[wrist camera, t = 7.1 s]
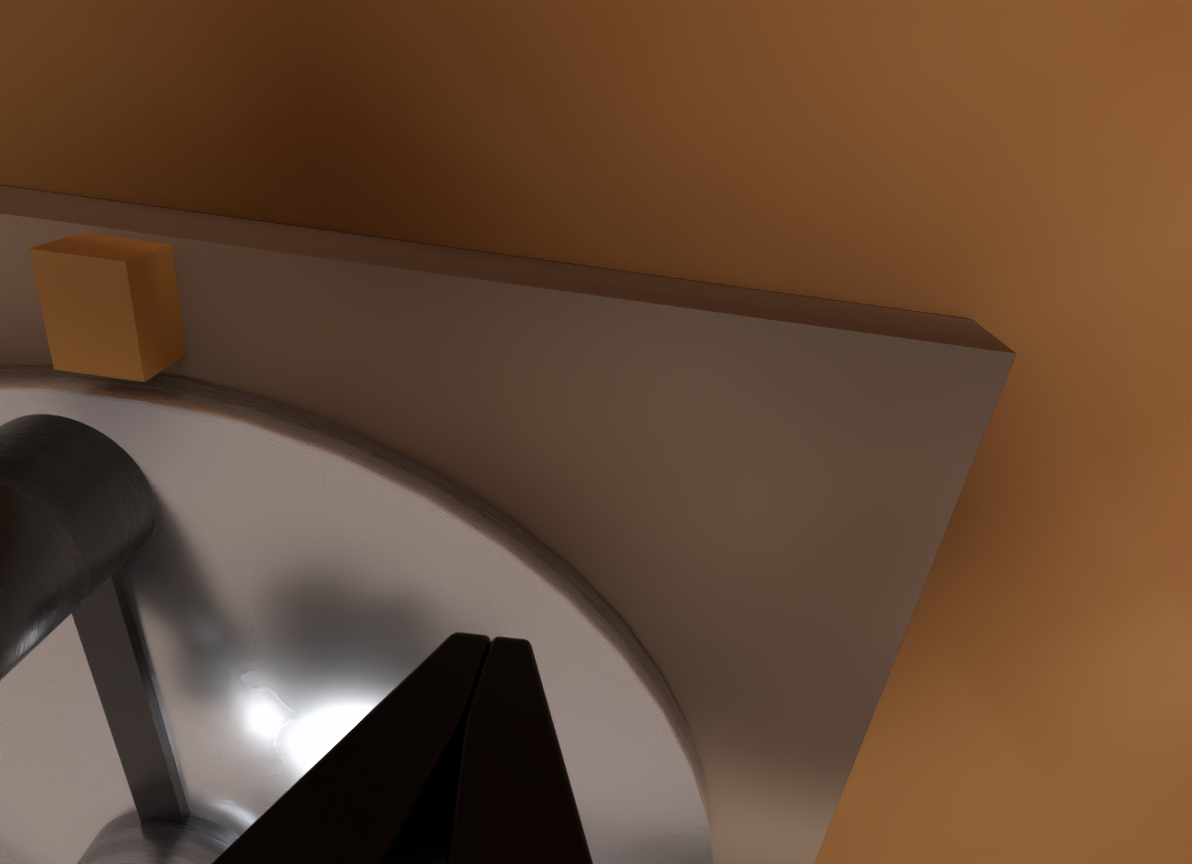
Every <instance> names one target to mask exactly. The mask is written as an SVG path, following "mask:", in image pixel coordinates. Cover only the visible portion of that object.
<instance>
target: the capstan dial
mask: <svg viewBox="0 0 1192 864" xmlns="http://www.w3.org/2000/svg"><path fill="white" fill-rule="evenodd" d="M455 632H465V633H474V634H483V635H487V636H488V637H489V638H490V639H491V641H492V640H493V638H495V637H497V636H502V637H511V638H520V639H526V640H528V641H529V642H530V643H531V645H532V649H533V652H534V656H535V659H536V663H537V666H538V670H539V673H540V677H541V681H542V684H543V688H544V691H545V695H546V698H547V702H548V705H549V709H550V712H551V716H552V720H553V723H554V727H555V730H556V734H557V737H558V741H559V744H560V748H561V751H562V755H563V759H564V762H565V766H566V769H567V773H568V776H569V780H570V783H571V787H572V790H573V794H574V798H575V801H576V805H577V808H578V812H579V815H580V819H581V822H582V826H583V829H584V833H585V837H586V840H587V844H588V847H589V851H590V854H591V858H592V861H593V864H714V856H713V844H712V832H711V822H710V814H709V806H708V798H707V790H706V782H705V777H704V773H703V770H702V767H701V764H700V761H699V758H698V755H697V751H696V748H695V745H694V742H693V739H692V736H691V733H690V730H689V727H688V725H687V723H686V721H685V719H684V717H683V715H682V713H681V711H680V709H679V707H678V705H677V703H676V702H675V700H674V698H673V696H672V694H671V692H670V690H669V688H668V686H667V684H666V682H665V680H664V678H663V676H662V674H661V673H660V672H659V670H658V669H657V668H656V666H655V665H654V663H653V662H652V661H651V659H650V658H649V656H648V655H647V654H646V652H645V651H644V650H643V648H642V647H641V645H640V644H639V643H638V641H637V640H636V639H635V637H634V636H633V634H632V633H631V632H630V630H629V629H628V627H627V626H626V625H625V623H624V622H623V621H622V620H621V619H620V618H619V617H618V615H617V614H616V613H615V612H614V611H613V610H612V609H611V608H610V607H609V606H608V605H607V604H606V603H605V602H604V601H603V600H602V599H601V598H600V597H599V596H598V595H597V593H596V592H595V591H594V590H593V589H592V588H591V587H590V586H589V585H588V584H587V583H586V582H585V581H584V580H583V579H582V578H581V577H580V576H579V575H578V574H577V573H576V571H575V570H574V569H573V568H571V567H570V566H569V565H568V564H567V563H565V562H564V561H563V560H562V559H560V558H559V557H558V556H557V555H556V554H554V553H553V552H552V551H551V550H549V549H548V548H547V547H546V546H545V545H543V544H542V543H541V542H540V541H538V540H537V539H536V538H535V537H533V536H532V535H531V534H530V533H529V532H527V531H526V530H525V529H524V528H522V527H521V526H520V525H519V524H518V523H516V522H515V521H514V520H513V519H511V518H510V517H509V516H507V515H505V514H504V513H502V512H501V511H499V510H498V509H496V508H494V507H493V506H491V505H490V504H488V503H487V502H485V501H484V500H482V499H480V498H479V497H477V496H476V495H474V494H473V493H471V492H469V491H468V490H466V489H465V488H463V487H462V486H460V485H459V484H457V483H455V482H454V481H452V480H451V479H449V478H448V477H446V476H444V475H443V474H441V473H440V472H438V471H436V470H434V469H432V468H430V467H428V466H426V465H424V464H422V463H420V462H418V461H416V460H414V459H412V458H410V457H408V456H406V455H404V454H402V453H400V452H398V451H396V450H394V449H392V448H390V447H388V446H385V445H383V444H381V443H379V442H377V441H375V440H373V439H371V438H369V437H367V436H365V435H363V434H361V433H359V432H357V431H354V430H352V429H349V428H346V427H343V426H341V425H338V424H335V423H332V422H330V421H327V420H324V419H321V418H319V417H316V416H313V415H310V414H308V413H305V412H302V411H300V410H297V409H294V408H291V407H289V406H286V405H283V404H280V403H278V402H275V401H272V400H269V399H265V398H261V397H257V396H253V395H248V394H244V393H240V392H236V391H232V390H228V389H224V388H220V387H216V386H212V385H208V384H204V383H200V382H196V381H191V380H187V379H183V378H178V377H170V376H162V375H155V376H153V377H152V378H150V379H149V380H147V381H145V382H140V381H133V380H126V379H119V378H111V377H104V376H97V375H90V374H82V373H75V372H68V371H61V370H54V366H2V367H0V864H211V863H212V862H213V861H214V860H216V859H217V858H218V857H219V856H220V855H221V854H222V853H223V852H224V851H225V850H226V849H227V848H228V847H229V846H230V845H231V844H232V843H233V842H234V841H235V840H236V839H237V838H238V837H240V836H241V835H242V834H243V833H244V832H245V831H246V830H247V829H248V828H249V827H250V826H251V825H252V824H253V823H254V822H255V821H256V820H257V819H258V818H259V817H260V816H261V815H263V814H264V813H265V812H266V811H267V810H268V809H269V808H270V807H271V806H272V805H273V804H274V803H275V802H276V801H277V800H278V799H279V798H280V797H281V796H282V795H283V794H284V793H286V792H287V791H288V790H289V789H290V788H291V787H292V786H293V785H294V784H295V783H296V782H297V781H298V780H299V779H300V778H301V777H302V776H303V775H304V774H305V773H306V772H307V771H309V770H310V769H311V768H312V767H313V766H314V765H315V764H316V763H317V762H318V761H319V760H320V759H321V758H322V757H323V756H324V755H325V754H326V753H327V752H328V751H329V750H330V749H331V748H333V747H334V746H335V745H336V744H337V743H338V742H339V741H340V740H341V739H342V738H343V737H344V736H345V735H346V734H347V733H348V732H349V731H350V730H351V729H352V728H353V727H354V726H356V725H357V724H358V723H359V722H360V721H361V720H362V719H363V718H364V717H365V716H366V715H367V714H368V713H369V712H370V711H371V710H372V709H373V708H374V707H375V706H376V705H377V704H379V703H380V702H381V701H382V700H383V699H384V698H385V697H386V696H387V695H388V694H389V693H390V692H391V691H392V690H393V689H394V688H395V687H396V686H397V685H398V684H399V683H400V682H402V681H403V680H404V679H405V678H406V677H407V676H408V675H409V674H410V673H411V672H412V671H413V670H414V669H415V668H416V667H417V666H418V665H419V664H420V663H421V662H422V661H423V660H424V659H426V658H427V657H428V656H429V655H430V654H431V653H432V652H433V651H434V650H435V649H436V648H437V647H438V646H439V645H440V644H441V643H442V642H443V641H444V640H445V639H446V638H447V637H449V636H450V635H451V634H453V633H455Z"/></svg>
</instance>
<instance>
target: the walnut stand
mask: <svg viewBox="0 0 1192 864" xmlns="http://www.w3.org/2000/svg"><path fill="white" fill-rule="evenodd" d="M1015 356H1016V353H1015V352H1013V351H1012V350H1011V349H1010V348H1008V347H1007V346H1006V345H1004V344H1003V343H1002V342H1001V341H999V340H998V339H997V338H995V337H994V336H993V335H992V334H990V333H989V332H988V331H987V330H985V329H984V328H983V327H981V326H980V325H979V324H978V323H976V322H975V321H974V320H972V319H965V318H958V317H950V316H943V315H936V314H929V313H921V312H914V311H907V310H900V309H892V308H885V307H878V306H871V305H863V304H856V303H849V302H842V301H834V300H827V299H820V298H813V297H806V296H798V295H791V294H784V293H777V292H769V291H762V290H755V289H748V288H740V287H733V286H726V285H719V284H711V283H704V282H697V281H690V280H683V279H675V278H668V277H661V276H654V275H646V274H639V273H632V272H625V271H617V270H610V269H603V268H596V267H588V266H581V265H574V264H567V263H559V262H552V261H545V260H538V259H530V258H523V257H516V256H509V255H502V254H494V253H487V252H480V251H473V250H465V249H458V248H451V247H444V246H436V245H429V244H422V243H415V242H407V241H400V240H393V239H386V238H379V237H371V236H364V235H357V234H350V233H342V232H335V231H328V230H321V229H313V228H306V227H299V226H292V225H284V224H277V223H270V222H263V221H255V220H248V219H241V218H234V217H227V216H219V215H212V214H205V213H198V212H190V211H183V210H176V209H169V208H161V207H154V206H147V205H140V204H132V203H125V202H118V201H111V200H103V199H96V198H89V197H82V196H75V195H67V194H60V193H53V192H46V191H38V190H31V189H24V188H17V187H9V186H2V185H0V367H2V366H54V370H61V371H68V372H75V373H82V374H90V375H97V376H104V377H111V378H119V379H126V380H133V381H140V382H145V381H147V380H149V379H150V378H152V377H153V376H155V375H162V376H170V377H178V378H183V379H187V380H191V381H196V382H200V383H204V384H208V385H212V386H216V387H220V388H224V389H228V390H232V391H236V392H240V393H244V394H248V395H253V396H257V397H261V398H265V399H269V400H272V401H275V402H278V403H280V404H283V405H286V406H289V407H291V408H294V409H297V410H300V411H302V412H305V413H308V414H310V415H313V416H316V417H319V418H321V419H324V420H327V421H330V422H332V423H335V424H338V425H341V426H343V427H346V428H349V429H352V430H354V431H357V432H359V433H361V434H363V435H365V436H367V437H369V438H371V439H373V440H375V441H377V442H379V443H381V444H383V445H385V446H388V447H390V448H392V449H394V450H396V451H398V452H400V453H402V454H404V455H406V456H408V457H410V458H412V459H414V460H416V461H418V462H420V463H422V464H424V465H426V466H428V467H430V468H432V469H434V470H436V471H438V472H440V473H441V474H443V475H444V476H446V477H448V478H449V479H451V480H452V481H454V482H455V483H457V484H459V485H460V486H462V487H463V488H465V489H466V490H468V491H469V492H471V493H473V494H474V495H476V496H477V497H479V498H480V499H482V500H484V501H485V502H487V503H488V504H490V505H491V506H493V507H494V508H496V509H498V510H499V511H501V512H502V513H504V514H505V515H507V516H509V517H510V518H511V519H513V520H514V521H515V522H516V523H518V524H519V525H520V526H521V527H522V528H524V529H525V530H526V531H527V532H529V533H530V534H531V535H532V536H533V537H535V538H536V539H537V540H538V541H540V542H541V543H542V544H543V545H545V546H546V547H547V548H548V549H549V550H551V551H552V552H553V553H554V554H556V555H557V556H558V557H559V558H560V559H562V560H563V561H564V562H565V563H567V564H568V565H569V566H570V567H571V568H573V569H574V570H575V571H576V573H577V574H578V575H579V576H580V577H581V578H582V579H583V580H584V581H585V582H586V583H587V584H588V585H589V586H590V587H591V588H592V589H593V590H594V591H595V592H596V593H597V595H598V596H599V597H600V598H601V599H602V600H603V601H604V602H605V603H606V604H607V605H608V606H609V607H610V608H611V609H612V610H613V611H614V612H615V613H616V614H617V615H618V617H619V618H620V619H621V620H622V621H623V622H624V623H625V625H626V626H627V627H628V629H629V630H630V632H631V633H632V634H633V636H634V637H635V639H636V640H637V641H638V643H639V644H640V645H641V647H642V648H643V650H644V651H645V652H646V654H647V655H648V656H649V658H650V659H651V661H652V662H653V663H654V665H655V666H656V668H657V669H658V670H659V672H660V673H661V674H662V676H663V678H664V680H665V682H666V684H667V686H668V688H669V690H670V692H671V694H672V696H673V698H674V700H675V702H676V703H677V705H678V707H679V709H680V711H681V713H682V715H683V717H684V719H685V721H686V723H687V725H688V727H689V730H690V733H691V736H692V739H693V742H694V745H695V748H696V751H697V755H698V758H699V761H700V764H701V767H702V770H703V773H704V777H705V782H706V790H707V798H708V806H709V814H710V822H711V832H712V844H713V856H714V864H814V862H815V860H816V857H817V855H818V852H819V850H820V847H821V845H822V842H823V840H824V837H825V835H826V832H827V830H828V827H829V825H830V822H831V820H832V817H833V814H834V812H835V809H836V807H837V804H838V802H839V799H840V797H841V794H842V792H843V789H844V787H845V784H846V782H847V779H848V777H849V774H850V772H851V769H852V767H853V764H854V762H855V759H856V756H857V754H858V751H859V749H860V746H861V744H862V741H863V739H864V736H865V734H866V731H867V729H868V726H869V724H870V721H871V719H872V716H873V714H874V711H875V709H876V706H877V704H878V701H879V698H880V696H881V693H882V691H883V688H884V686H885V683H886V681H887V678H888V676H889V673H890V671H891V668H892V666H893V663H894V661H895V658H896V656H897V653H898V651H899V648H900V646H901V643H902V640H903V638H904V635H905V633H906V630H907V628H908V625H909V623H910V620H911V618H912V615H913V613H914V610H915V608H916V605H917V603H918V600H919V598H920V595H921V593H922V590H923V588H924V585H925V582H926V580H927V577H928V575H929V572H930V570H931V567H932V565H933V562H934V560H935V557H936V555H937V552H938V550H939V547H940V545H941V542H942V540H943V537H944V535H945V532H946V530H947V527H948V524H949V522H950V519H951V517H952V514H953V512H954V509H955V507H956V504H957V502H958V499H959V497H960V494H961V492H962V489H963V487H964V484H965V482H966V479H967V477H968V474H969V472H970V469H971V466H972V464H973V461H974V459H975V456H976V454H977V451H978V449H979V446H980V444H981V441H982V439H983V436H984V434H985V431H986V429H987V426H988V424H989V421H990V419H991V416H992V414H993V411H994V408H995V406H996V403H997V401H998V398H999V396H1000V393H1001V391H1002V388H1003V386H1004V383H1005V381H1006V378H1007V376H1008V373H1009V371H1010V368H1011V366H1012V363H1013V361H1014V358H1015Z"/></svg>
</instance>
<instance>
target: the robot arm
mask: <svg viewBox="0 0 1192 864" xmlns="http://www.w3.org/2000/svg"><path fill="white" fill-rule="evenodd" d="M211 864H593V861H592V858H591V854H590V851H589V847H588V844H587V840H586V837H585V833H584V829H583V826H582V822H581V819H580V815H579V812H578V808H577V805H576V801H575V798H574V794H573V790H572V787H571V783H570V780H569V776H568V773H567V769H566V766H565V762H564V759H563V755H562V751H561V748H560V744H559V741H558V737H557V734H556V730H555V727H554V723H553V720H552V716H551V712H550V709H549V705H548V702H547V698H546V695H545V691H544V688H543V684H542V681H541V677H540V673H539V670H538V666H537V663H536V659H535V656H534V652H533V649H532V645H531V643H530V642H529V641H528V640H526V639H520V638H511V637H502V636H497V637H495V638H493V640H492V641H491V639H490V638H489V637H488V636H487V635H483V634H474V633H465V632H455V633H453V634H451V635H450V636H449V637H447V638H446V639H445V640H444V641H443V642H442V643H441V644H440V645H439V646H438V647H437V648H436V649H435V650H434V651H433V652H432V653H431V654H430V655H429V656H428V657H427V658H426V659H424V660H423V661H422V662H421V663H420V664H419V665H418V666H417V667H416V668H415V669H414V670H413V671H412V672H411V673H410V674H409V675H408V676H407V677H406V678H405V679H404V680H403V681H402V682H400V683H399V684H398V685H397V686H396V687H395V688H394V689H393V690H392V691H391V692H390V693H389V694H388V695H387V696H386V697H385V698H384V699H383V700H382V701H381V702H380V703H379V704H377V705H376V706H375V707H374V708H373V709H372V710H371V711H370V712H369V713H368V714H367V715H366V716H365V717H364V718H363V719H362V720H361V721H360V722H359V723H358V724H357V725H356V726H354V727H353V728H352V729H351V730H350V731H349V732H348V733H347V734H346V735H345V736H344V737H343V738H342V739H341V740H340V741H339V742H338V743H337V744H336V745H335V746H334V747H333V748H331V749H330V750H329V751H328V752H327V753H326V754H325V755H324V756H323V757H322V758H321V759H320V760H319V761H318V762H317V763H316V764H315V765H314V766H313V767H312V768H311V769H310V770H309V771H307V772H306V773H305V774H304V775H303V776H302V777H301V778H300V779H299V780H298V781H297V782H296V783H295V784H294V785H293V786H292V787H291V788H290V789H289V790H288V791H287V792H286V793H284V794H283V795H282V796H281V797H280V798H279V799H278V800H277V801H276V802H275V803H274V804H273V805H272V806H271V807H270V808H269V809H268V810H267V811H266V812H265V813H264V814H263V815H261V816H260V817H259V818H258V819H257V820H256V821H255V822H254V823H253V824H252V825H251V826H250V827H249V828H248V829H247V830H246V831H245V832H244V833H243V834H242V835H241V836H240V837H238V838H237V839H236V840H235V841H234V842H233V843H232V844H231V845H230V846H229V847H228V848H227V849H226V850H225V851H224V852H223V853H222V854H221V855H220V856H219V857H218V858H217V859H216V860H214V861H213V862H212V863H211Z"/></svg>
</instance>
